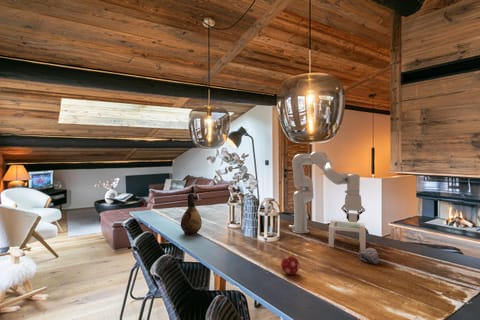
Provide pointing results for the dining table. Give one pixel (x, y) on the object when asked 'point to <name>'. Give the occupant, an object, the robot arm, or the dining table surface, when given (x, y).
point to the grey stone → (353, 217)
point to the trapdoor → (347, 225)
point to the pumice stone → (369, 256)
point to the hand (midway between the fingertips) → (352, 220)
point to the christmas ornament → (290, 264)
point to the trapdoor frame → (361, 230)
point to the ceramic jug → (191, 218)
